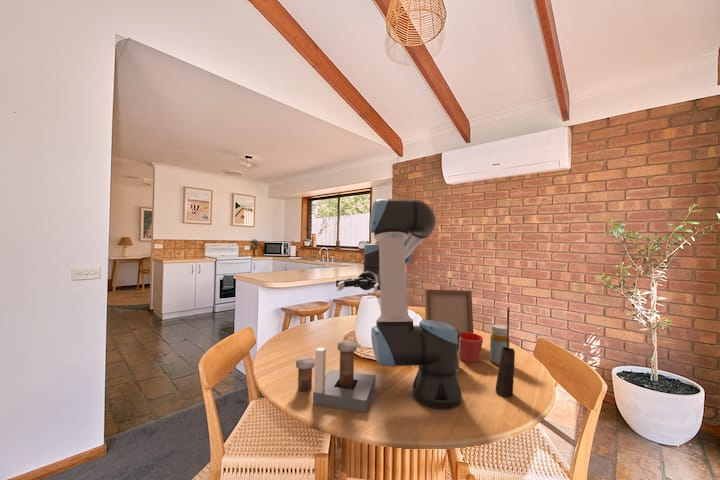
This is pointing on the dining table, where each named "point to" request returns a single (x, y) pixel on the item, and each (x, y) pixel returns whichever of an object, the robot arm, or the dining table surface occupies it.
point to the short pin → (305, 373)
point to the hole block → (339, 397)
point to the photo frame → (450, 308)
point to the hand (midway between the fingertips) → (356, 288)
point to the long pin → (346, 363)
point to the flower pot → (470, 347)
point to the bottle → (497, 342)
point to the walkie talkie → (506, 368)
